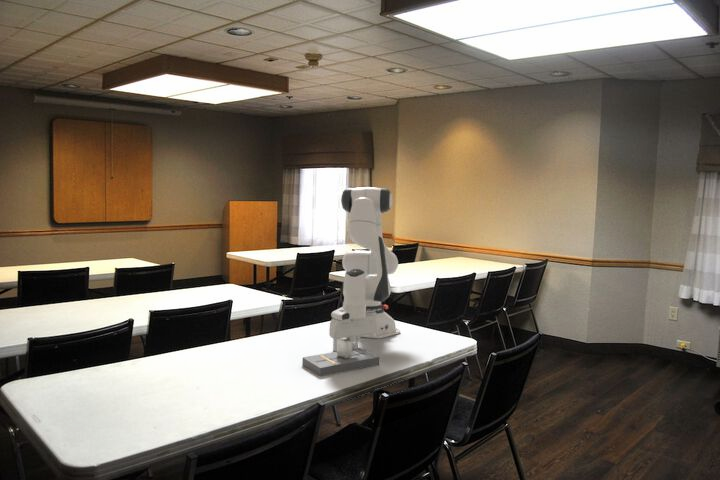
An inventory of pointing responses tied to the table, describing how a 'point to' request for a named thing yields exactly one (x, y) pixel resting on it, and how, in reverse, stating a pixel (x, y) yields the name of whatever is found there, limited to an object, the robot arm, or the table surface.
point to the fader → (344, 347)
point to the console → (340, 362)
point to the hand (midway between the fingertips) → (353, 347)
